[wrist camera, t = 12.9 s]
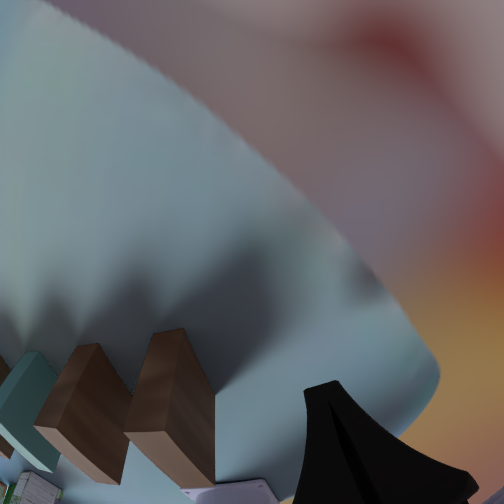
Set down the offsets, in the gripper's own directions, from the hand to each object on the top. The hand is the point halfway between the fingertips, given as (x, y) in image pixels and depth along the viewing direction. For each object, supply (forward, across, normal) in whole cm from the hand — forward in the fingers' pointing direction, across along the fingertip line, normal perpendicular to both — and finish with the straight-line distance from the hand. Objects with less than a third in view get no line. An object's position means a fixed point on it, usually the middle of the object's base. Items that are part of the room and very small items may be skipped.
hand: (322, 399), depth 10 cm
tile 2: (+4, +11, 0) cm, 12 cm away
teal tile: (+4, +16, 0) cm, 17 cm away
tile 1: (+4, +6, 0) cm, 7 cm away
